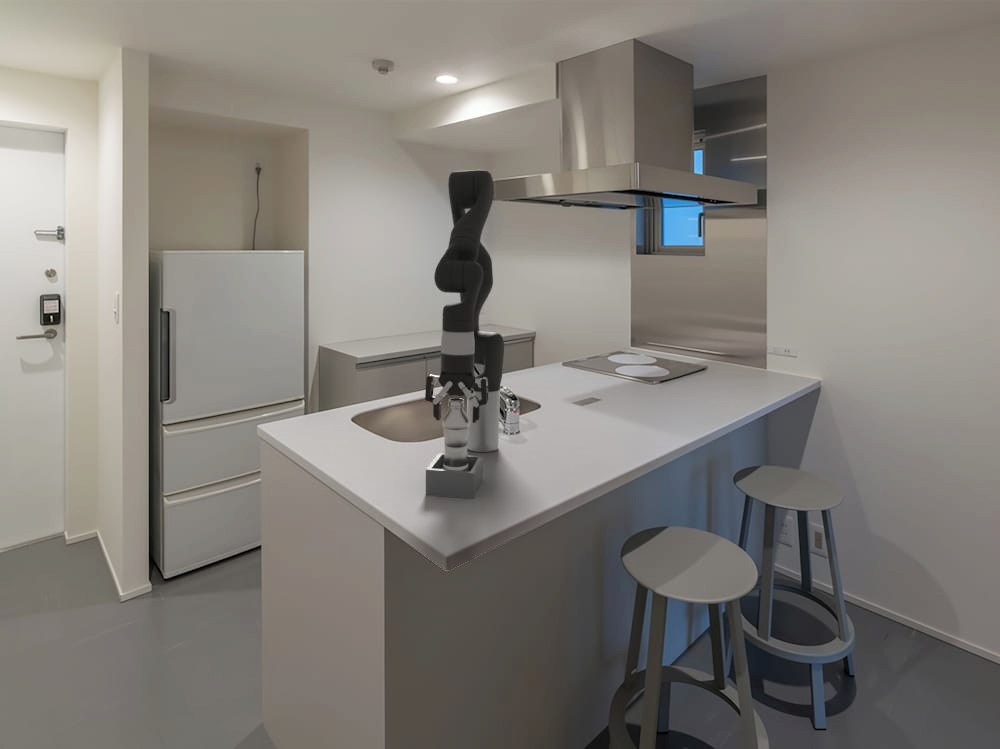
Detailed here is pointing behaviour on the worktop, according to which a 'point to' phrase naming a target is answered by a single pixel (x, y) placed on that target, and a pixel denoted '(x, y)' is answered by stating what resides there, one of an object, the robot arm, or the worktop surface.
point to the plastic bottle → (456, 436)
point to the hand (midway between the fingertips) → (456, 420)
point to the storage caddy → (454, 478)
